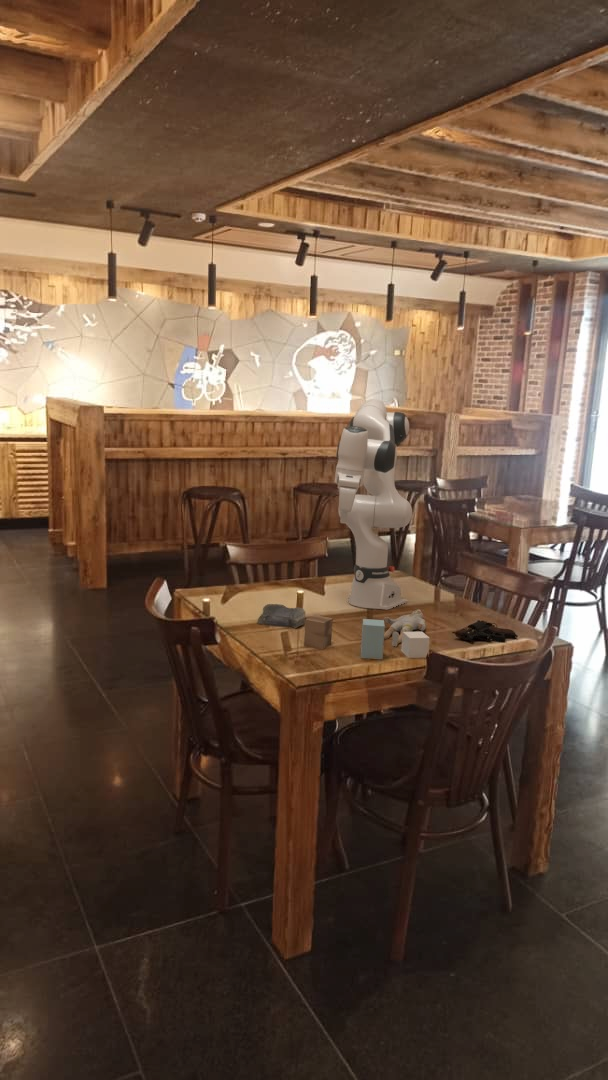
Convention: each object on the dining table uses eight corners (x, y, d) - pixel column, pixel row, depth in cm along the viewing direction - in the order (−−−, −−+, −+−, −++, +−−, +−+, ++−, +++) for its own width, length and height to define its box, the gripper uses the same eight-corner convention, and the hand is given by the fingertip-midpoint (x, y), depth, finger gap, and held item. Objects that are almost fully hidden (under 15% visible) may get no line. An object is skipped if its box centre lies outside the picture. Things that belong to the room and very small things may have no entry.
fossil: (300, 630, 246) (300, 619, 245) (252, 624, 249) (253, 613, 249) (312, 618, 260) (312, 607, 260) (267, 612, 264) (267, 601, 263)
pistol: (522, 630, 249) (479, 615, 258) (497, 642, 235) (452, 626, 243) (519, 642, 250) (477, 627, 259) (494, 655, 236) (450, 638, 245)
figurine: (365, 626, 237) (401, 601, 263) (364, 645, 238) (400, 618, 264) (406, 634, 231) (439, 607, 257) (405, 653, 232) (437, 625, 258)
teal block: (360, 652, 227) (362, 618, 225) (381, 653, 227) (383, 620, 225) (360, 658, 221) (363, 624, 219) (382, 660, 221) (384, 626, 219)
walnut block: (313, 640, 235) (314, 614, 234) (331, 644, 233) (332, 618, 231) (303, 645, 230) (305, 619, 229) (322, 649, 227) (323, 623, 226)
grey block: (401, 651, 230) (402, 631, 229) (420, 651, 231) (422, 631, 230) (408, 658, 224) (409, 638, 223) (428, 657, 226) (429, 637, 224)
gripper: (338, 475, 253) (333, 517, 255) (338, 480, 233) (332, 525, 235) (358, 477, 253) (352, 520, 255) (359, 482, 233) (353, 528, 235)
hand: (342, 522), depth 245 cm, fingers closed
